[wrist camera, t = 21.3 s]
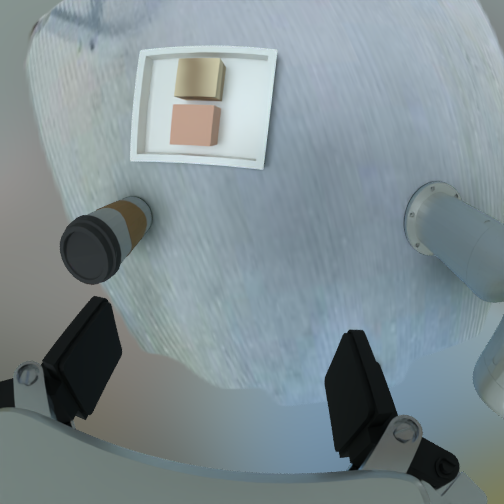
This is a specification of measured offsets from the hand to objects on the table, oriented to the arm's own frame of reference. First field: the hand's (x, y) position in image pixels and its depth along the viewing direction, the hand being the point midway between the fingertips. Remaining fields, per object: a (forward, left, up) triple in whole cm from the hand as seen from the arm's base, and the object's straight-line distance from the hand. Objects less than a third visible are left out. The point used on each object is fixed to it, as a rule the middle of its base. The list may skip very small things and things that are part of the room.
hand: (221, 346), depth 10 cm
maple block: (+8, -14, -30) cm, 34 cm away
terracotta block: (+8, -8, -30) cm, 32 cm away
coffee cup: (+18, +6, -31) cm, 36 cm away
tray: (+8, -11, -30) cm, 33 cm away
